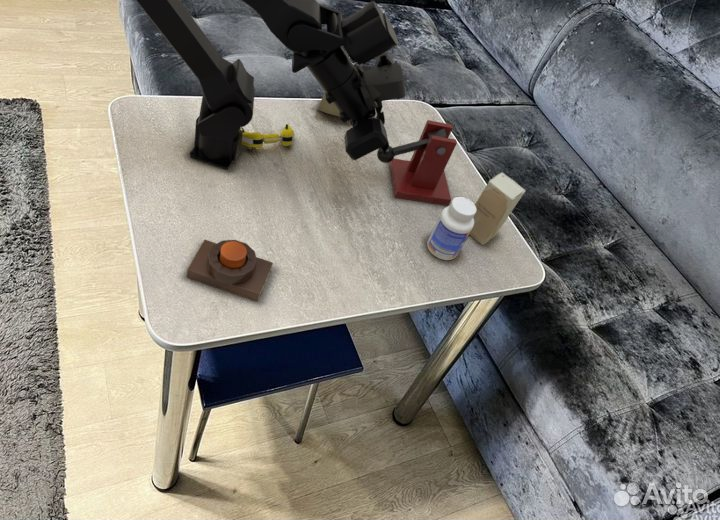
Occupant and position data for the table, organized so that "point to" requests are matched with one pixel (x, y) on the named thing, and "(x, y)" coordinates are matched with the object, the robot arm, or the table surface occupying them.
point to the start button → (233, 254)
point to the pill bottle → (452, 229)
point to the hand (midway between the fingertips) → (386, 146)
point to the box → (495, 207)
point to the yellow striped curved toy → (267, 138)
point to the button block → (230, 271)
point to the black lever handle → (406, 147)
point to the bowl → (328, 107)
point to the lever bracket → (425, 168)
